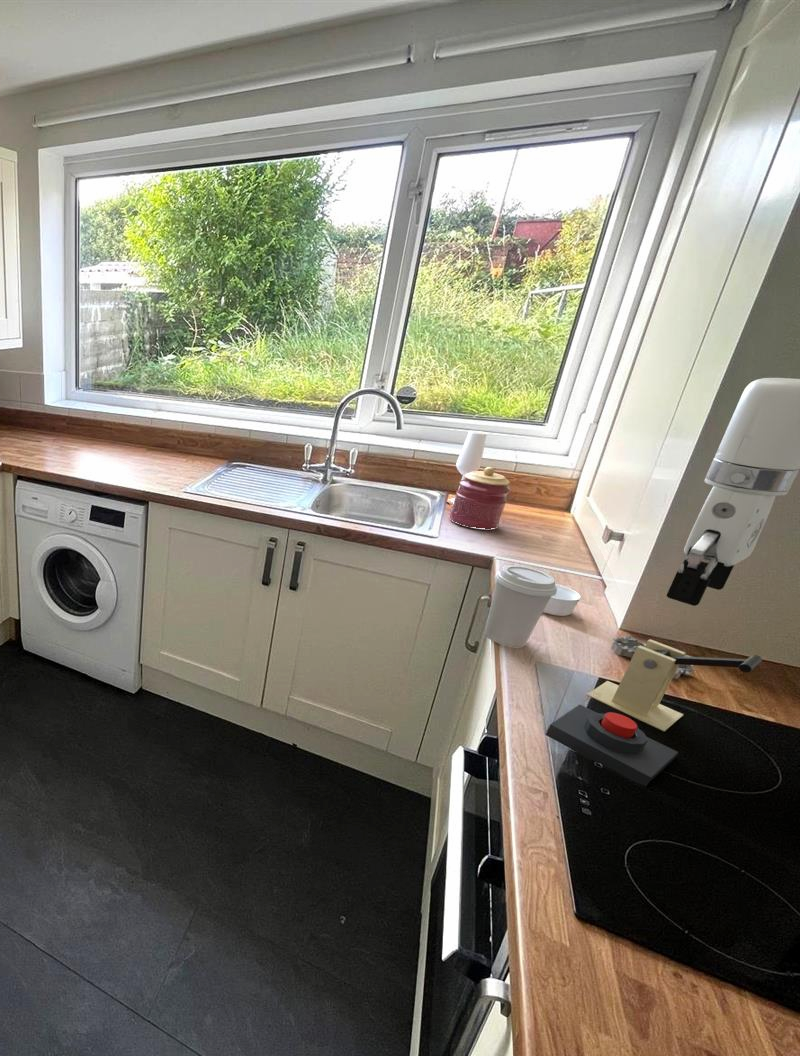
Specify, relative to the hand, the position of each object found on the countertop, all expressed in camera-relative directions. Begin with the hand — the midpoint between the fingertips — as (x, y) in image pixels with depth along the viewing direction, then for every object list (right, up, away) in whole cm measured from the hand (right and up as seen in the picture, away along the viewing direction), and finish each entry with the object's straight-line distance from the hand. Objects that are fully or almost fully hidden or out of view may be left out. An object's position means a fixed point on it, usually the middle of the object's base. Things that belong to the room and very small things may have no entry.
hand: (694, 593), depth 82 cm
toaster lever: (+6, -12, +5) cm, 14 cm away
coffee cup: (-4, -13, +31) cm, 34 cm away
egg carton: (+18, -16, +25) cm, 35 cm away
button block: (-8, -24, +4) cm, 26 cm away
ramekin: (+16, -8, +45) cm, 49 cm away
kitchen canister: (+32, +12, +94) cm, 100 cm away
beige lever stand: (+4, -21, +13) cm, 25 cm away
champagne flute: (+39, +20, +112) cm, 120 cm away
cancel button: (-8, -20, +3) cm, 22 cm away
